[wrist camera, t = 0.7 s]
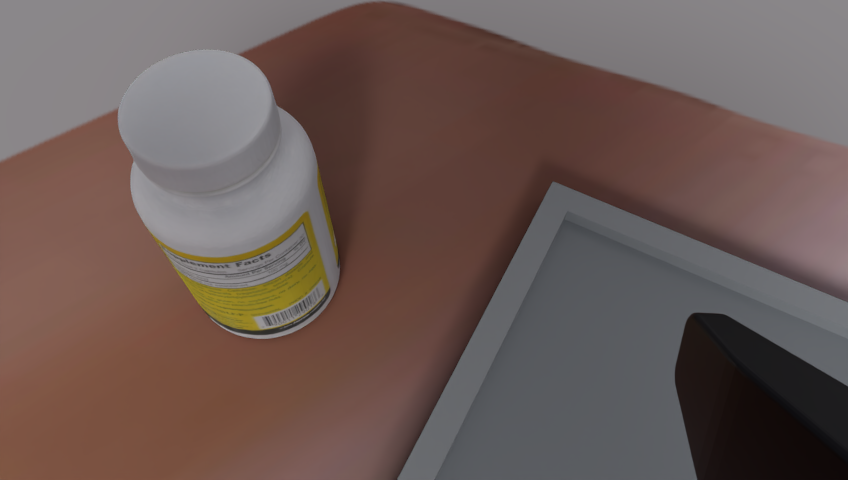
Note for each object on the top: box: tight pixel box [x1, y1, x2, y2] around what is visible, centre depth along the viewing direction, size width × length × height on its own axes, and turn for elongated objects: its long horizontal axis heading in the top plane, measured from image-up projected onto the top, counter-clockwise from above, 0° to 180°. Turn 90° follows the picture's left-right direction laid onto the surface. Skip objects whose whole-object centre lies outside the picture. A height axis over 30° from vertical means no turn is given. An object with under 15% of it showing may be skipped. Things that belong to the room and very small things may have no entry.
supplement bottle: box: [118, 49, 340, 339], centre depth 22 cm, size 5×5×10 cm
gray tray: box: [397, 182, 848, 480], centre depth 22 cm, size 16×16×1 cm
